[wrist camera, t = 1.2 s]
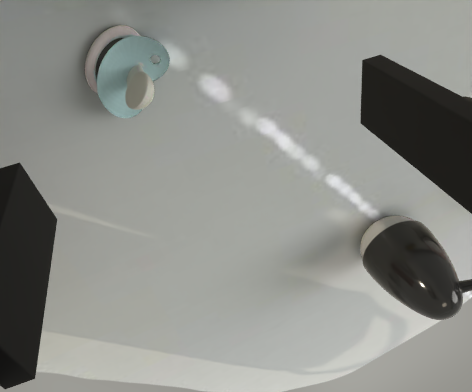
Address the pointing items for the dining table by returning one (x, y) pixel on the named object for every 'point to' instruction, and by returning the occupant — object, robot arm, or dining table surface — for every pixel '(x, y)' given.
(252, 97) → the dining table surface
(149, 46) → the pacifier
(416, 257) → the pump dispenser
